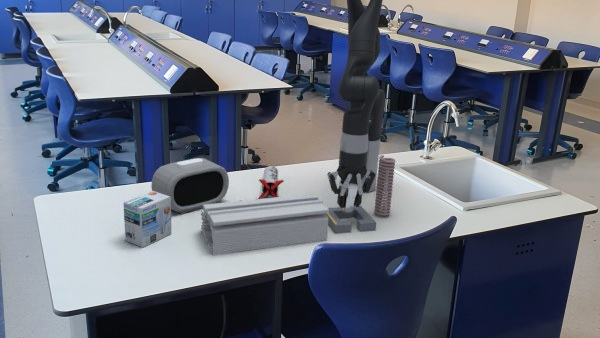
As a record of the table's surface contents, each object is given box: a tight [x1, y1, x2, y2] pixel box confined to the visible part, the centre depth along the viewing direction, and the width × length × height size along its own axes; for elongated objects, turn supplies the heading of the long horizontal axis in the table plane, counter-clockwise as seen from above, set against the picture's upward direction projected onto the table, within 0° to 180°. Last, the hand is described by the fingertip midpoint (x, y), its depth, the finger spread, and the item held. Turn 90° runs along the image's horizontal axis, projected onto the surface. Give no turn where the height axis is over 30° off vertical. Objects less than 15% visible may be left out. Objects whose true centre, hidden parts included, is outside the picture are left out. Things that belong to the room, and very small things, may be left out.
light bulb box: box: [122, 190, 172, 248], centre depth 155 cm, size 11×7×11 cm, turn 148°
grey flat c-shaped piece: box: [324, 205, 377, 234], centre depth 171 cm, size 12×12×3 cm
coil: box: [373, 154, 396, 216], centre depth 175 cm, size 5×5×18 cm
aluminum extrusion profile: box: [200, 193, 329, 256], centre depth 160 cm, size 14×31×10 cm, turn 111°
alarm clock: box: [151, 157, 230, 214], centre depth 176 cm, size 21×10×13 cm, turn 131°
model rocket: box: [258, 165, 285, 199], centre depth 193 cm, size 11×23×10 cm
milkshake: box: [342, 180, 363, 214], centre depth 169 cm, size 4×5×10 cm
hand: (348, 206), depth 170 cm, fingers closed on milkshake, 4 cm apart
